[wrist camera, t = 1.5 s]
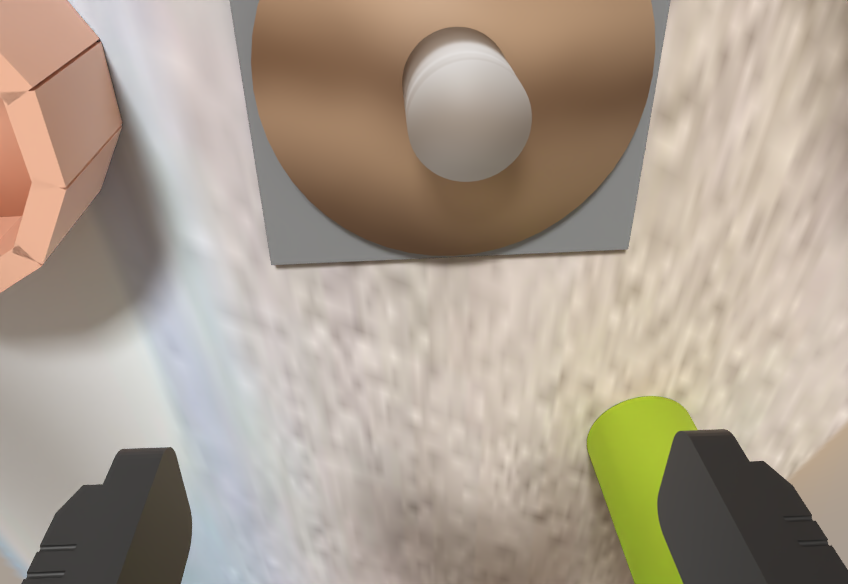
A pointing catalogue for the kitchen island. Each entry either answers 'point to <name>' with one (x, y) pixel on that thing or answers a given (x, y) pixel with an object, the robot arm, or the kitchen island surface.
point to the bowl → (49, 129)
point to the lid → (450, 111)
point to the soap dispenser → (638, 478)
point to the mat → (329, 242)
